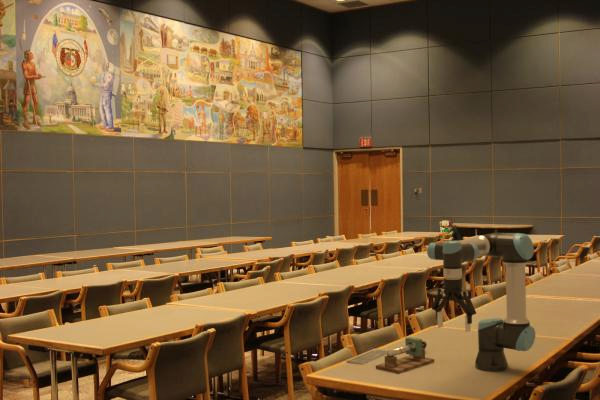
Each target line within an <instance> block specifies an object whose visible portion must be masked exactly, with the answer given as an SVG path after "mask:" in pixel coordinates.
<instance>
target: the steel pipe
mask: <svg viewBox="0 0 600 400" xmlns="http://www.w3.org/2000/svg"><path fill="white" fill-rule="evenodd" d="M423 345H424V344H422V346H423ZM413 350H416V346H415V343H413V344H409V345H406V344H405V345H403V346H402V345H401V346H398V347H395V348H392V349H388V350H386V351H387V355H386V356H388V357H392V356H395V357H396V356H398V355H401V354H406V352H409V351H413Z"/></svg>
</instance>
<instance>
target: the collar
mask: <svg viewBox="0 0 600 400" xmlns="http://www.w3.org/2000/svg"><path fill="white" fill-rule="evenodd" d="M422 341H423V339H422V338H419V339H418V338H417V337H412V336H408V337H405V346H406V345H409V344H412V343H415V346H416V350H413V351H409V352H406V353H405V354H406V355H408V356H409V355H414V356H422Z"/></svg>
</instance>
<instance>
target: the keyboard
mask: <svg viewBox="0 0 600 400" xmlns="http://www.w3.org/2000/svg"><path fill="white" fill-rule="evenodd" d="M387 351H388V350H386V349H385V350H384V349H380V348H372V349H370V350H368V351H365V352H363V353H360V354H358V355H355V356H353V357H351V358H348V359H346V363H348V364H355V365H360V366H361V365H362V366H363V365H365V364H368V363H370V362H373V361H375V360H378V359H379V358H382V357H385V356H387Z"/></svg>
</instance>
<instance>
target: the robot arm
mask: <svg viewBox="0 0 600 400" xmlns="http://www.w3.org/2000/svg"><path fill="white" fill-rule="evenodd" d="M534 248H535V247H534V243H533V241H532V238H531V237H530V236H529V235H528V234H526V233H520V232H492V233H487V234H483V235H477V236H476V237H474V238H469V239H462V240H445V241H444V242H430V243H429V244H428V246H427V248H426V255H427V257H428V258H429V259H431V260H435V261H442V262H443V263H442V264H443V265H442V266H443V267H442V268H443V269H442V271H443V278H444V279H443V288H438V289H437V294H436V297H435V299H434V302H433V303H432V307H431V310H432V311H435V319H436V320H437V329H439V328H440V329H441V328H443V327H444V318H443V317H444V315H443V312H444V311H442V310H443V308H444V307H445V306H446V304H447V303H448V302H449V301H450V302H451V301H453V302H456V303H457V304H458V305H459V307H461V309H462V311H463V312H464V313H465V314H466V315H465V316H464V329H465V330H464V331H465V333H470V332H471V331H472V330H471V324H472V323H473V315H476V314H477V311H476V309H475V307H474V304H473V302H472V299H471V298H470V292H469V290H465V291H463V289H462V288H463V279H462V278H463V267H462V265H463V264H462V263H467V262H473V261H476V260H477V259H478V258H479V257H485V256H486V257H494V258H501V263H503V264H504V265H505V280H506V281H505V287H506V289H505V290H506V296H505V297H506V299H505V301H506V317H505V318H504V319H503V318H500V317H498V318H497V317H493V318H483V319H481V320H479V322H478V324H477V340H478V342H477V344H478V351H477V355H476V357H475V362H474V365H475V366H474V367H475V368H476V369H478V370H480V371H484V372H485V371H487V372H502V371H507V369H509V362H508V361H507V356H506V355H505V349H506V350H507V349H508V350H515V351H518V352H527V351H530V349H531V348H532V347H533V345H534V343H535V340H536V330H535V328H534V327H533V326H532V325H531V324H530V323H531V322H530V321H531V320H529V319H528V318H527V298H526V297H527V295H526V291H527V290H526V289H527V288H526V266H527V265H528V264H529V260H530V259H532V258H533V256H534V251H535V249H534ZM443 296H444V297H443Z"/></svg>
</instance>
